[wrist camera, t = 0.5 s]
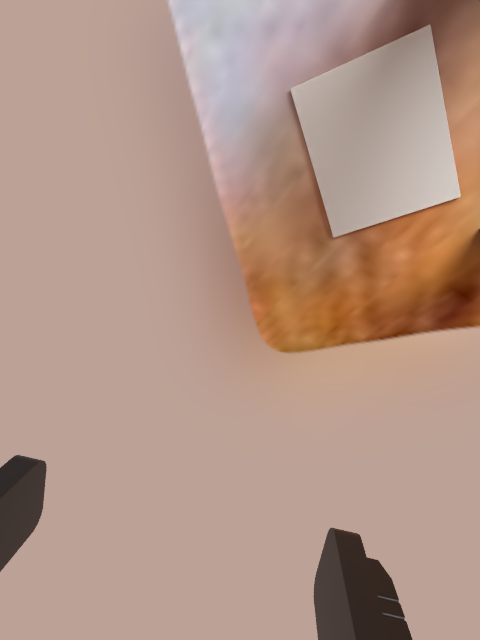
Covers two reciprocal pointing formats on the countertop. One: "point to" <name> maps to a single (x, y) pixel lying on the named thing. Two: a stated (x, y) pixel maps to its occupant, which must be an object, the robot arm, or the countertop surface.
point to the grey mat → (379, 134)
